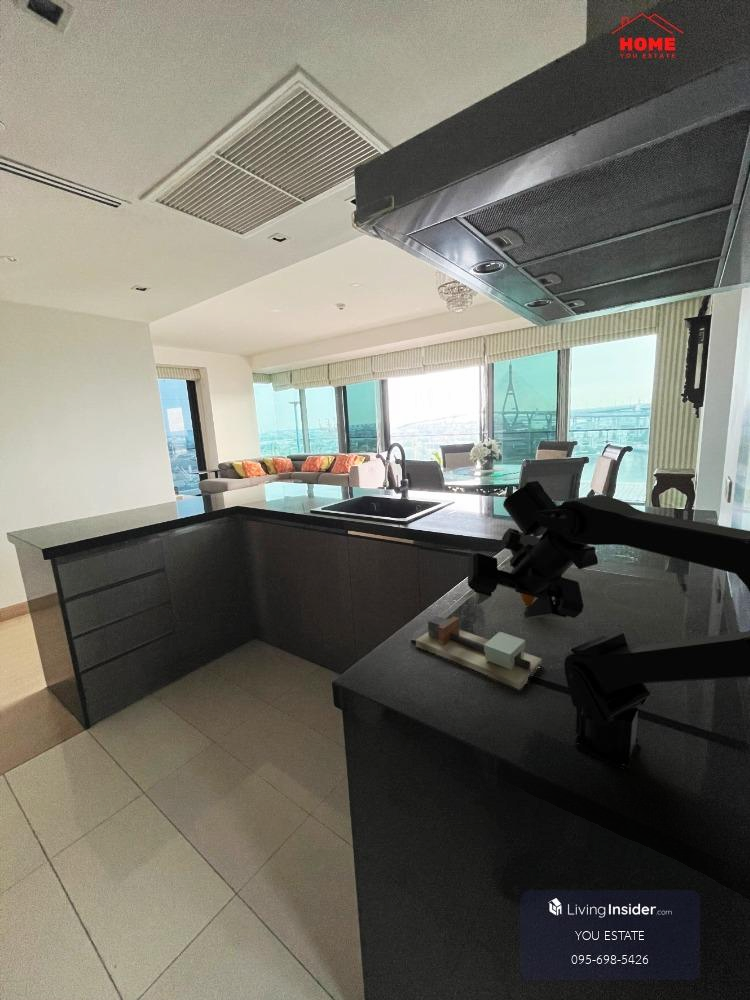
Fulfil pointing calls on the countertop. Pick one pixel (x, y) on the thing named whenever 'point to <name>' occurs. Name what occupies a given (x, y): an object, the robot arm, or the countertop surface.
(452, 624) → the board
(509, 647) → the pale green slider block
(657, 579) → the countertop surface
